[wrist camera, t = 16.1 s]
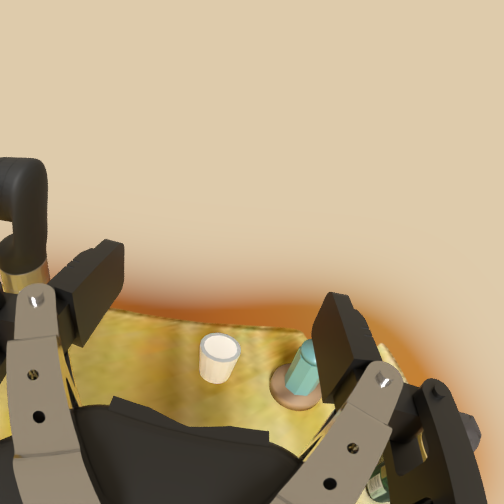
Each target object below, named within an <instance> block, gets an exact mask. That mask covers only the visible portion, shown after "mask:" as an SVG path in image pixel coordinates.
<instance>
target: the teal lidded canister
mask: <svg viewBox="0 0 504 504" xmlns="http://www.w3.org/2000/svg"><path fill="white" fill-rule="evenodd" d="M318 383H319V376H318V370H317V364H316V359H315V353H314V348H313V342H312V339H308V340H306V341H305V342H304V343H303V344H302V346H301V347H300V348H299V349H298V351H297V353H296V355H295V357H294V359H293V361H292V363H291V365H290V367H289V369H288V371H287V373H286V375H285V387H286V388H287V389H289V390H290V391H291V392H292V393H293V394H294V395H303V396H307V395H308V394H310V393H311V392H312V391H313V390H314V389H315V388H316V386H317V385H318Z"/></svg>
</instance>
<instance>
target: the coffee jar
mask: <svg viewBox="0 0 504 504" xmlns="http://www.w3.org/2000/svg"><path fill="white" fill-rule="evenodd" d="M459 414H460V416H461V419H462V421H463V424H464V427H465V429H466V432H467V435H468V438H469V441H470V443H471V446H472V449H473V452H474V451H475V450H476V449H477V447H478V445H479V442H480V438H481V433H480V430H479V427H478V425H477V423H476V421H475V419H474V417H473V416H470V415H468V414H465V413H461V412H459ZM417 439H418V443H419V446H420V450H421V454H422V458H423V462H424V461H425V460H426V459H427V457H428V453H429V448H428V444H427V441H426V437H425V434H424V431H423V432H422V433H421V434H419V435H418V436H417ZM367 489H368V492H369V495H370V497H371V498H372V499H373V500H374V501H376V502H390V496H389V489H388V481H387V475H386V468H385V462H384V461H383V462H382V463H380V464H379V465H377V466H376V467H375V469H374V471H373V473H372V475H371V477H370V479H369V481H368V482H367Z"/></svg>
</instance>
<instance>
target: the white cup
mask: <svg viewBox="0 0 504 504" xmlns="http://www.w3.org/2000/svg"><path fill="white" fill-rule="evenodd" d="M240 353H241V347H240V345H239V343H238V342H237V341H236V340H235V339H234V338H233V337H231V336H229V335H227V334H223V333H211V334H208V335H206V336H205V337H204V338H203V339H202V340H201V344H200V361H199V372H200V375H201V376H202V377H203V379H204V380H206V381H208V382H210V383H214V384H219V383H223V382H225V381H227V379H228V378H229V376H230V374H231V372H232V370H233V368H234V366H235V364H236V362H237V360H238V358H239V356H240Z"/></svg>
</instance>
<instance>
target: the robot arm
mask: <svg viewBox="0 0 504 504" xmlns="http://www.w3.org/2000/svg"><path fill="white" fill-rule="evenodd" d="M47 199H48V180H47V173H46V169H45V166H44V164H43V163H42V162H41V161H40V160H38V159H34V158H13V157H2V158H0V220H4V221H9V222H12V225H13V234H11V235H9V236H7V237H6V238H4V239H3V240H2V241H1V242H0V274H1V278H2V282H3V286H4V289H5V292H3V288H2V284H1V282H0V383H1V382H2V380H3V378H4V377H5V375H6V374H7V395H8V407H9V416H10V424H11V431H12V436H10V437H7V438H5V439H2V440H0V504H355V503H356V501H357V500H358V498H359V496H360V495H361V493H362V491H363V490H364V488H365V486H366V484H367V482H368V481H369V479H370V477H371V475H372V473H373V471H374V469H375V467H376V465H377V463H378V461H379V459H380V457H381V455H382V453H383V456H384V462H385V468H386V475H387V481H388V489H389V496H390V504H487V500H486V495H485V491H484V487H483V483H482V479H481V476H480V472H479V469H478V465H477V462H476V459H475V456H474V452H473V449H472V446H471V443H470V441H469V438H468V435H467V432H466V429H465V427H464V424H463V421H462V419H461V416H460V414H459V411H458V409H457V406H456V404H455V402H454V399H453V397H452V394H451V392H450V390H449V389H448V387H447V386H446V385H445V384H444V383H442V382H441V381H439V380H437V379H433V378H430V379H427V380H426V381H424V383H423V384H422V385H421V386H420V387H416V386H413V385H410V384H407V383H404V382H403V378H402V376H401V374H400V373H399V371H398V370H397V369H396V368H395V367H393V366H392V365H390V364H389V363H386V362H383V361H382V358H381V356H380V353H379V351H378V348H377V346H376V344H375V341H374V339H373V337H372V334H371V332H370V330H369V327H368V325H367V322H366V320H365V318H364V317H363V316H362V315H361V314H360V313H359V311H357V310H355V309H354V308H353V306H352V303H351V301H350V298H349V296H348V295H344V294H339V293H333V292H329V293H328V294H327V295H326V297H325V299H324V301H323V304H322V306H321V308H320V310H319V313H318V315H317V317H316V319H315V321H314V324H313V327H312V342H313V348H314V353H315V359H316V364H317V370H318V376H319V382H320V388H321V394H322V401H323V403H331V404H335V409H334V411H333V412H332V413H331V414H330V416H329V417H328V419H327V420H326V421H325V423H324V424H323V425H322V427H321V428H320V429H319V431H318V432H317V433H316V434H315V436H314V437H313V438H312V440H311V441H310V442H309V443H308V445H307V446H306V447H305V448H304V449H303V450H302V451H301V453H300V454H299V455H298V456H296V455H294V454H293V453H291V452H290V451H288V450H286V449H285V448H283V447H281V446H279V445H276V444H274V443H271V442H269V431H261V430H253V429H246V428H239V427H232V426H223V427H188V426H185V425H183V424H181V423H178V422H176V421H174V420H172V419H170V418H168V417H166V416H165V415H163V414H161V413H159V412H157V411H155V410H153V409H151V408H149V407H146V406H143V405H140V404H136V403H133V402H130V401H127V400H124V399H122V398H119V397H116V396H113V399H112V401H111V403H110V405H87V406H82V404H81V401H80V398H79V394H78V391H77V387H76V382H75V378H74V373H73V369H72V364H71V359H70V354H69V350H68V349H69V347H70V346H71V344H75V345H77V346H79V347H82V348H83V347H84V345H85V343H86V342H87V340H88V339H89V337H90V336H91V334H92V333H93V331H94V330H95V328H96V327H97V325H98V324H99V322H100V321H101V319H102V318H103V316H104V315H105V313H106V312H107V310H108V309H109V308H110V306H111V304H112V303H113V302H114V300H115V299H116V298H117V296H118V295H119V293H120V292H121V290H122V286H123V282H124V245H123V243H119V242H115V241H111V240H107V239H104V240H103V241H102V242H101V243H100V244H99V245H97V246H96V247H95V248H94V249H93V248H91V249H88V250H86V251H84V252H81V253H80V254H79V255H77V256H76V257H75V258H74V259H73V261H71V262H70V263H68V264H67V267H64V268H63V269H62V270H61V271H60V272H59V273H58V274H57V275H56V276H55V277H53V279H51V280H50V275H49V269H48V262H47V254H46V242H47ZM423 431H424V434H425V437H426V441H427V444H428V448H429V453H428V457H427V459H426V460H425V461H424V462H423V458H422V454H421V450H420V446H419V443H418V439H417V436H418V435H419V434H421V433H422V432H423Z"/></svg>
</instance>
